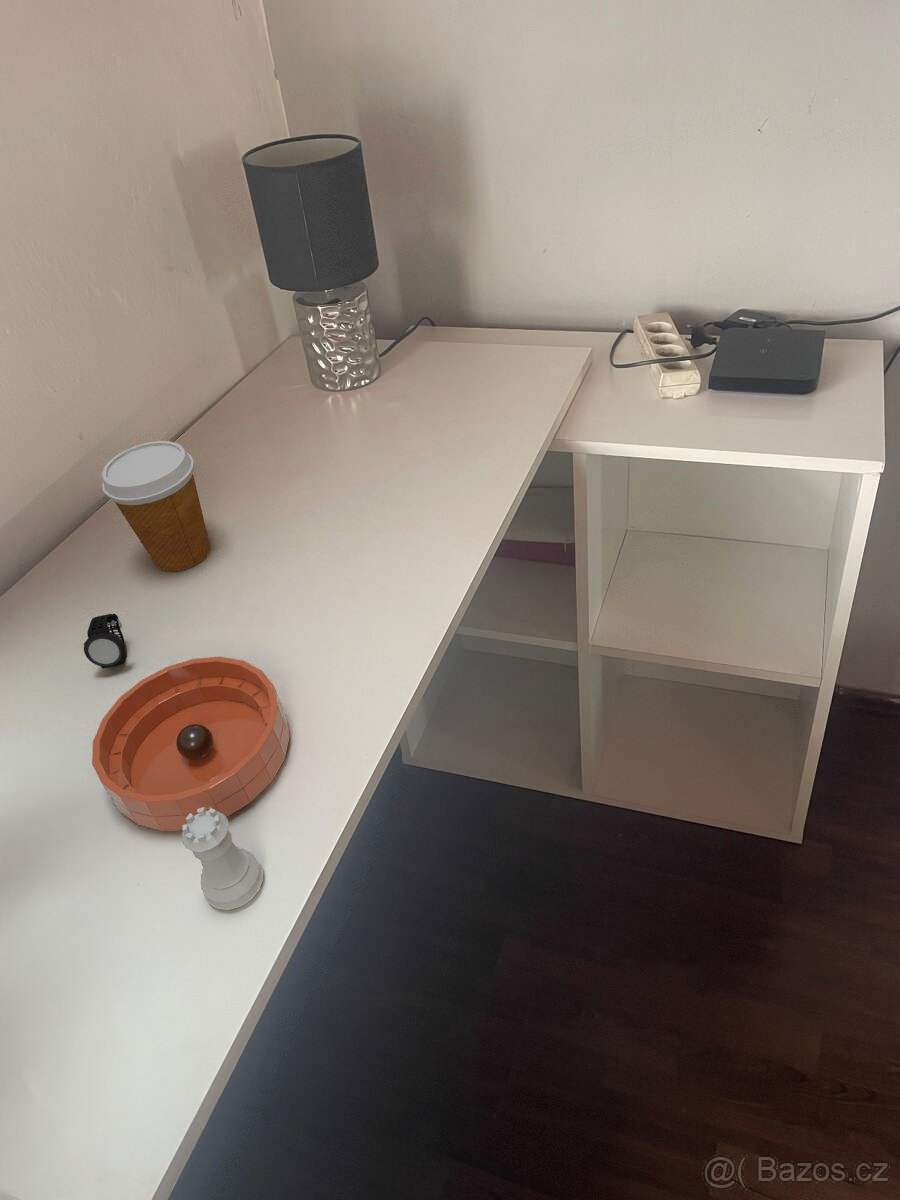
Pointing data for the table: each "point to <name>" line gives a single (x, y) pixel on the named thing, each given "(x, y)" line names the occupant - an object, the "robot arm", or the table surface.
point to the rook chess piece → (221, 861)
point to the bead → (194, 742)
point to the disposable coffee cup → (160, 502)
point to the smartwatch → (105, 642)
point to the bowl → (149, 732)
